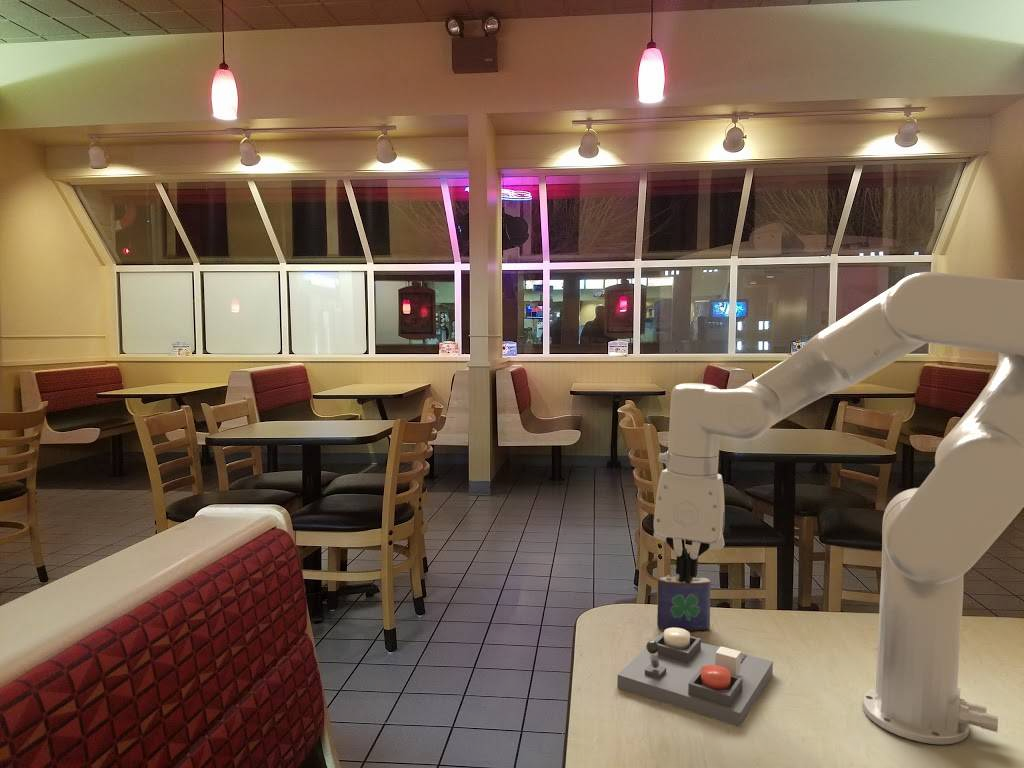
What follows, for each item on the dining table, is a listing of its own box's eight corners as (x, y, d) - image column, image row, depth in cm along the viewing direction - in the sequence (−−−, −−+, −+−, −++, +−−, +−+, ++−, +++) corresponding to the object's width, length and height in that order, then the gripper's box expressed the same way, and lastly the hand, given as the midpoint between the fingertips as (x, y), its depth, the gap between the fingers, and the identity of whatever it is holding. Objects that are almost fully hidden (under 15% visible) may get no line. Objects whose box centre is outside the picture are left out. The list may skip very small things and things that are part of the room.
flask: (708, 625, 124) (709, 567, 122) (712, 633, 121) (713, 573, 120) (655, 624, 124) (656, 566, 123) (658, 632, 121) (659, 572, 120)
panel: (772, 673, 107) (773, 651, 106) (739, 727, 93) (740, 701, 92) (661, 643, 117) (662, 622, 116) (617, 687, 103) (617, 664, 102)
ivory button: (693, 641, 110) (693, 631, 110) (684, 651, 107) (684, 641, 107) (669, 634, 113) (669, 625, 112) (659, 644, 109) (660, 634, 109)
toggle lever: (663, 664, 103) (659, 639, 101) (659, 672, 102) (655, 648, 100) (652, 660, 104) (648, 636, 102) (647, 669, 103) (643, 645, 101)
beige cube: (740, 670, 103) (740, 651, 102) (735, 677, 101) (736, 658, 100) (720, 665, 104) (720, 646, 104) (715, 672, 102) (715, 652, 102)
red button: (734, 680, 98) (734, 669, 98) (725, 693, 95) (725, 682, 95) (706, 672, 100) (706, 662, 100) (696, 684, 97) (697, 673, 97)
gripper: (638, 463, 106) (632, 578, 108) (739, 475, 99) (732, 598, 101) (650, 454, 113) (645, 563, 115) (747, 465, 106) (739, 581, 108)
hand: (686, 579), depth 108 cm, fingers closed
